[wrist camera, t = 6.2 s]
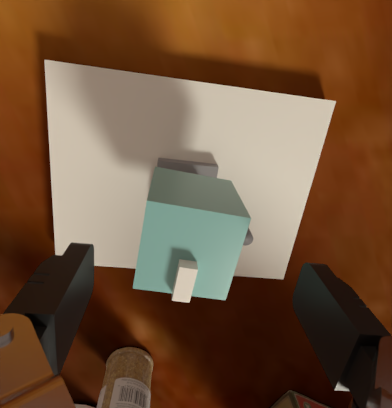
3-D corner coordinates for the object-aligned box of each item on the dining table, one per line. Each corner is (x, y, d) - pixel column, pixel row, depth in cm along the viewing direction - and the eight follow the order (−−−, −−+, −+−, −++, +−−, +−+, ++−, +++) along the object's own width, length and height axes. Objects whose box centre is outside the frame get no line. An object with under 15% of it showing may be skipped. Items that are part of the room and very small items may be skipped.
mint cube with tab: (154, 166, 16) (145, 206, 11) (231, 180, 17) (254, 224, 12) (143, 235, 18) (130, 297, 13) (213, 245, 19) (227, 309, 14)
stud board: (325, 99, 21) (365, 105, 16) (277, 268, 26) (298, 306, 22) (54, 61, 19) (16, 55, 14) (62, 252, 24) (37, 290, 20)
